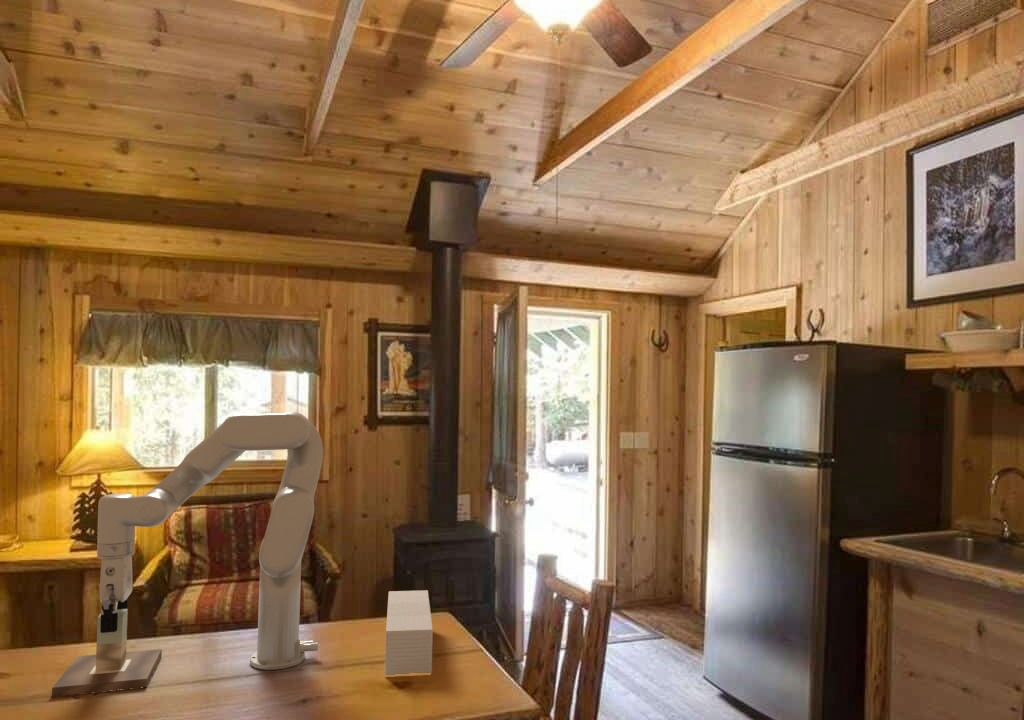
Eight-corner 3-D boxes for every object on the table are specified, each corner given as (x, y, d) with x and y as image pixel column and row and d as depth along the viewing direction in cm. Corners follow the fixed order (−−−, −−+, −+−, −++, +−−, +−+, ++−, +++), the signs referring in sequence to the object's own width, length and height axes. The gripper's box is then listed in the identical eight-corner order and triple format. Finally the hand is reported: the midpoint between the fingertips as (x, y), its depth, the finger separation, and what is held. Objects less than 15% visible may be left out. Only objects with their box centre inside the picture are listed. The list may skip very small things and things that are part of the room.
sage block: (126, 635, 162) (127, 608, 162) (121, 642, 157) (122, 615, 158) (102, 637, 161) (103, 610, 161) (96, 644, 156) (97, 617, 156)
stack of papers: (431, 676, 162) (432, 629, 162) (384, 678, 160) (386, 631, 161) (426, 629, 194) (427, 590, 194) (387, 631, 192) (388, 591, 192)
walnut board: (161, 657, 170) (161, 648, 170) (146, 687, 153) (146, 678, 153) (76, 664, 165) (77, 655, 165) (51, 697, 147) (52, 687, 147)
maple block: (125, 661, 162) (126, 635, 162) (120, 669, 157) (121, 642, 157) (101, 663, 160) (102, 636, 161) (95, 672, 156) (96, 644, 156)
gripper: (125, 556, 153) (123, 636, 152) (142, 539, 169) (140, 611, 169) (86, 558, 151) (84, 639, 150) (107, 541, 167) (105, 614, 166)
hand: (114, 624), depth 159 cm, fingers open, 9 cm apart
